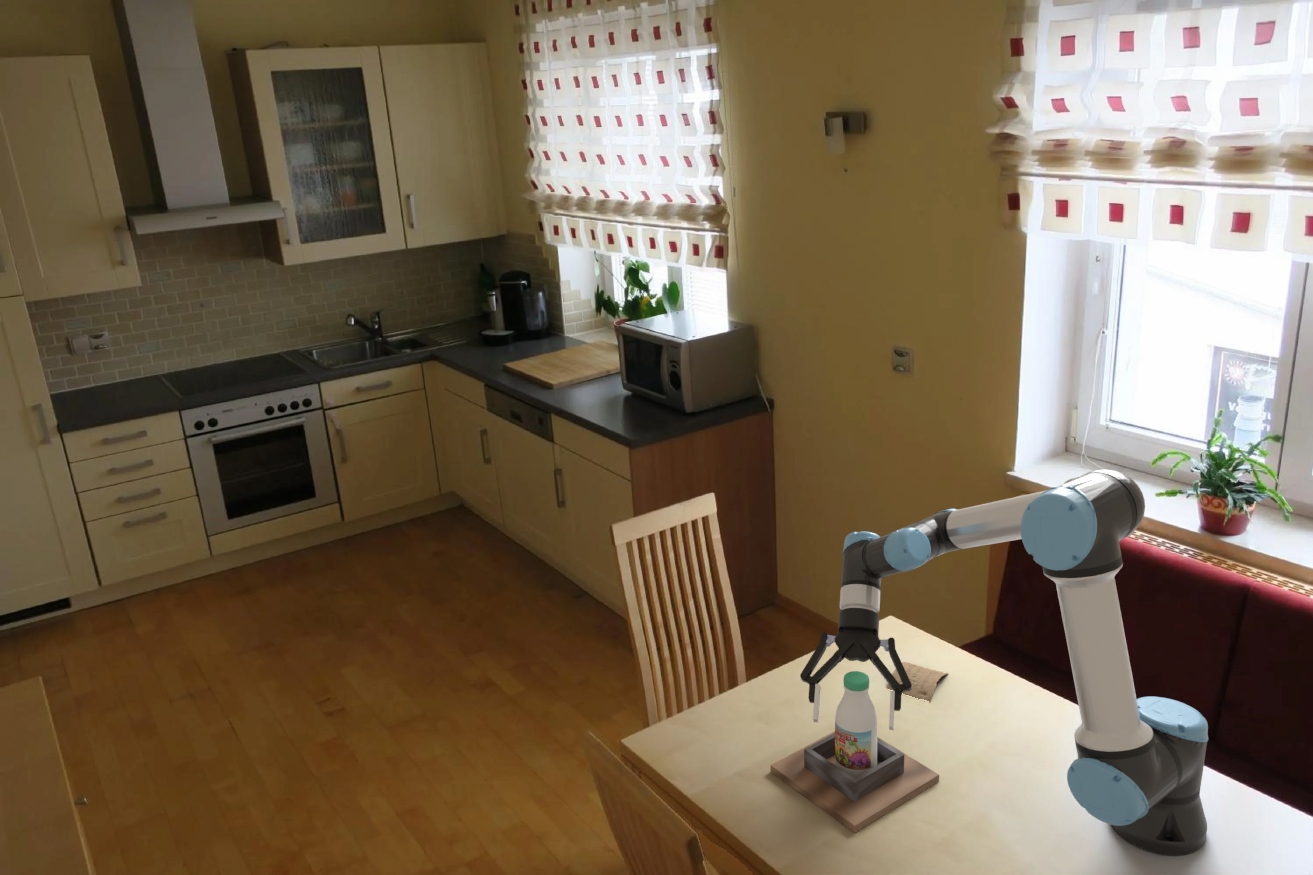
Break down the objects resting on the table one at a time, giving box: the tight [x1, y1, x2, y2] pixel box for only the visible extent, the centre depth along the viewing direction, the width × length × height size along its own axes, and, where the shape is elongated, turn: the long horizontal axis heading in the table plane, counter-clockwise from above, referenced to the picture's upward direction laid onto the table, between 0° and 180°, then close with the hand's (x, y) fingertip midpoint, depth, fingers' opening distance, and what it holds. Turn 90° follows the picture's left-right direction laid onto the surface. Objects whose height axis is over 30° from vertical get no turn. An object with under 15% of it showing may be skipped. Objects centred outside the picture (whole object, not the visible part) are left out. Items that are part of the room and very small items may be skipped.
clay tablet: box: [886, 661, 948, 704], centre depth 221 cm, size 14×10×3 cm
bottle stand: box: [770, 730, 940, 833], centre depth 191 cm, size 22×22×6 cm
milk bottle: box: [834, 670, 878, 778], centre depth 188 cm, size 8×8×20 cm
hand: (853, 724), depth 186 cm, fingers open, 13 cm apart
